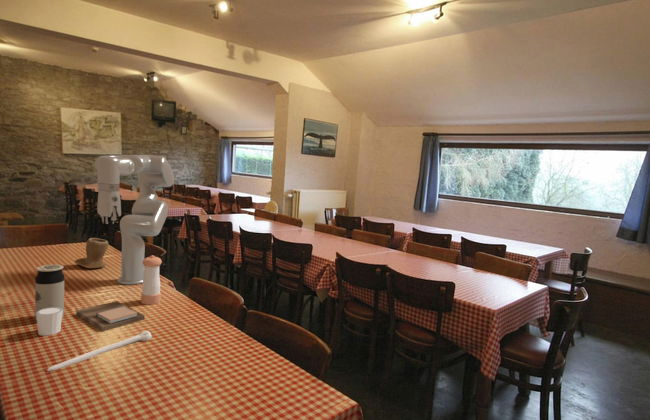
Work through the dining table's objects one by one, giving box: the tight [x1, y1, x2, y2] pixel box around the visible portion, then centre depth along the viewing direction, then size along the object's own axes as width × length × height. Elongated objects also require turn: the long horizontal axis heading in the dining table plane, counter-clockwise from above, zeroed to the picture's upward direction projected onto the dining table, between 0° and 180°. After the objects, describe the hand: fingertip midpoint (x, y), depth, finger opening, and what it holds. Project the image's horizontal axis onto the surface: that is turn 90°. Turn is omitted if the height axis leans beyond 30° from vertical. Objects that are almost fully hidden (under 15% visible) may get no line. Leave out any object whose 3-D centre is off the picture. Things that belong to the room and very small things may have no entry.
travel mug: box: [34, 264, 65, 321], centre depth 125 cm, size 8×8×18 cm
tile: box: [96, 306, 138, 323], centre depth 127 cm, size 10×9×1 cm
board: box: [75, 300, 145, 332], centre depth 130 cm, size 20×14×2 cm
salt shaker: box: [140, 255, 163, 305], centre depth 146 cm, size 7×7×19 cm
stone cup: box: [74, 237, 109, 269], centre depth 189 cm, size 15×12×15 cm
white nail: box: [46, 330, 152, 372], centre depth 105 cm, size 28×4×3 cm, turn 147°
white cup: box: [36, 307, 63, 337], centre depth 115 cm, size 7×7×7 cm
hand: (108, 233), depth 145 cm, fingers closed
